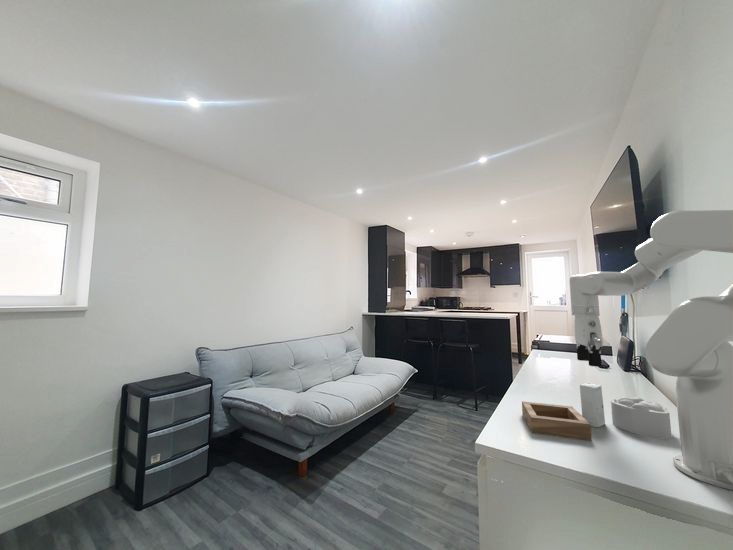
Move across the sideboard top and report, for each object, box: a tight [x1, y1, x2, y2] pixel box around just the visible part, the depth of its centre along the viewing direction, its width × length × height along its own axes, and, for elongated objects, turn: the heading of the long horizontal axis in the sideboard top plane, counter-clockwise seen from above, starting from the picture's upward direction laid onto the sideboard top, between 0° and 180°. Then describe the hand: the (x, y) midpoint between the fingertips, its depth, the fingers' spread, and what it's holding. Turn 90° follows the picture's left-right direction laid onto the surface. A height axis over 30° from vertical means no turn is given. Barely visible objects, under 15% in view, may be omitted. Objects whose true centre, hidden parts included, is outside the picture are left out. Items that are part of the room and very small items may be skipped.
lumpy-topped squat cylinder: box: [610, 396, 673, 440], centre depth 90 cm, size 10×13×9 cm
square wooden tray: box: [521, 401, 593, 441], centre depth 91 cm, size 15×15×4 cm
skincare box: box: [579, 382, 606, 429], centre depth 94 cm, size 6×4×12 cm
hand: (588, 363), depth 95 cm, fingers open, 9 cm apart
